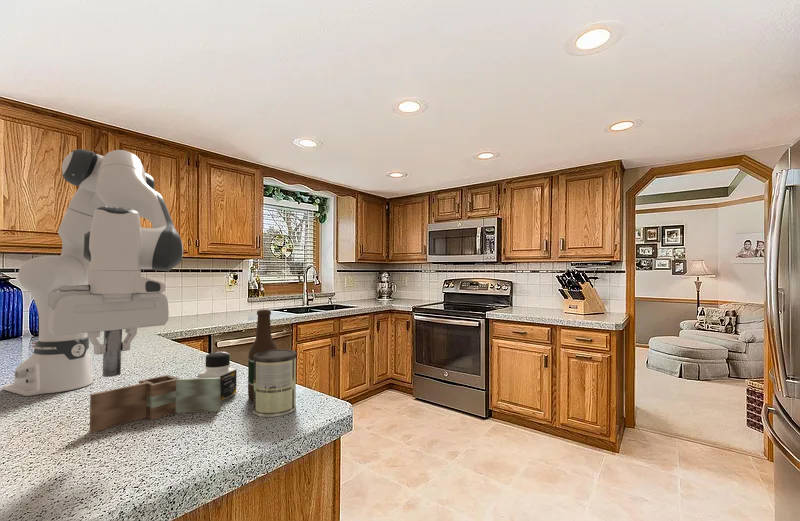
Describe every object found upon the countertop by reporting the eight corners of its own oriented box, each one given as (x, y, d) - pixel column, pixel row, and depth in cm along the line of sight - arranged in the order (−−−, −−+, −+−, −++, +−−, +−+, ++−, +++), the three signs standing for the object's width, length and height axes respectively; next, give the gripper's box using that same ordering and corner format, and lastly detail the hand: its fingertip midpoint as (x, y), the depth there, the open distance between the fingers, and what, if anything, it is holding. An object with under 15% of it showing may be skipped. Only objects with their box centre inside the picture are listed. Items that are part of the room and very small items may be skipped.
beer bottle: (260, 405, 101) (261, 312, 102) (241, 399, 105) (242, 310, 106) (284, 396, 108) (284, 309, 109) (265, 392, 112) (266, 308, 113)
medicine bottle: (220, 401, 104) (221, 356, 104) (196, 400, 105) (197, 355, 106) (236, 393, 111) (237, 351, 111) (214, 392, 112) (215, 349, 113)
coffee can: (245, 409, 98) (246, 353, 98) (283, 400, 105) (284, 347, 106) (264, 421, 91) (265, 359, 91) (303, 410, 98) (304, 353, 98)
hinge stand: (190, 399, 105) (191, 369, 106) (221, 410, 97) (222, 377, 98) (84, 428, 86) (85, 392, 86) (112, 445, 78) (113, 404, 78)
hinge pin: (98, 376, 79) (100, 316, 79) (113, 372, 82) (115, 315, 82) (110, 377, 78) (112, 317, 79) (124, 373, 81) (126, 315, 82)
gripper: (54, 286, 70) (51, 363, 70) (173, 284, 87) (171, 346, 87) (43, 285, 74) (40, 358, 74) (159, 283, 91) (157, 343, 90)
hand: (112, 352), depth 80 cm, fingers closed on hinge pin, 3 cm apart
